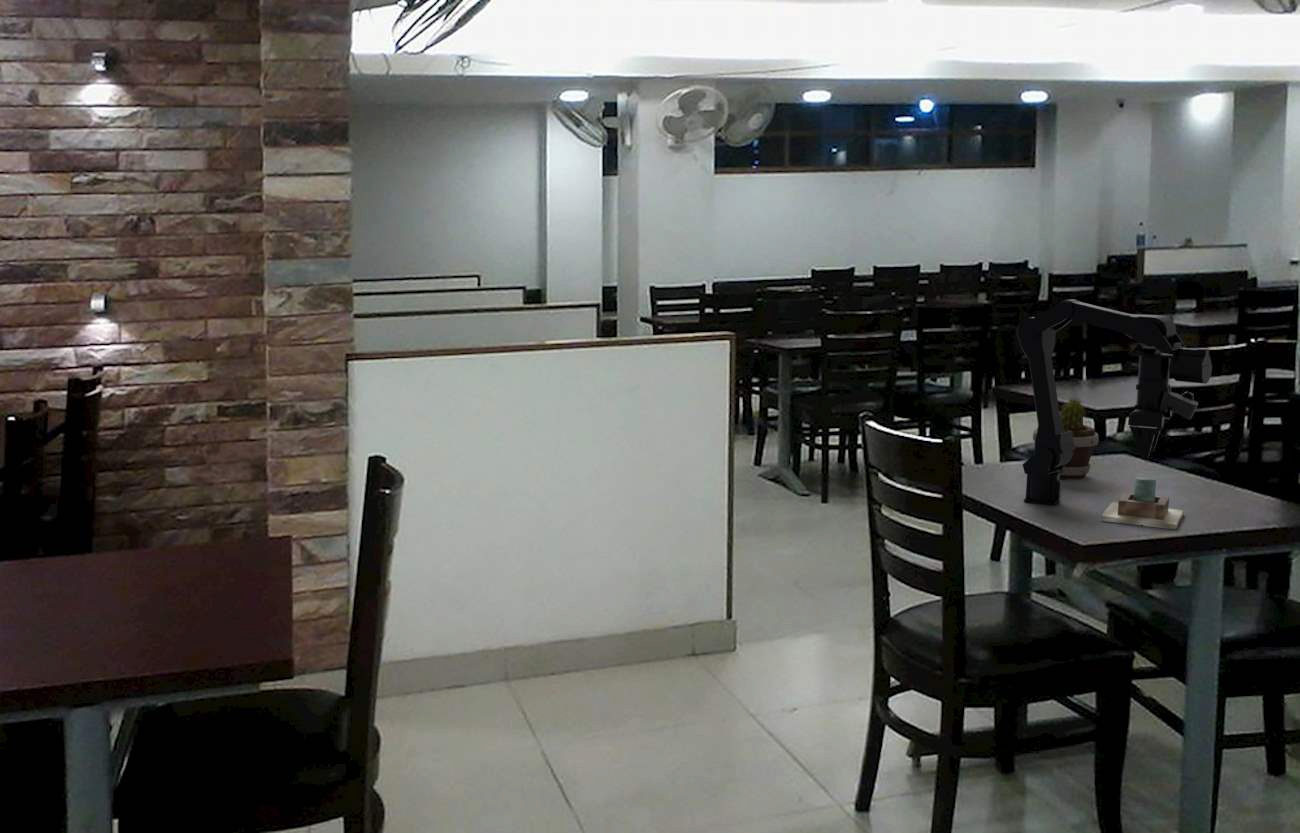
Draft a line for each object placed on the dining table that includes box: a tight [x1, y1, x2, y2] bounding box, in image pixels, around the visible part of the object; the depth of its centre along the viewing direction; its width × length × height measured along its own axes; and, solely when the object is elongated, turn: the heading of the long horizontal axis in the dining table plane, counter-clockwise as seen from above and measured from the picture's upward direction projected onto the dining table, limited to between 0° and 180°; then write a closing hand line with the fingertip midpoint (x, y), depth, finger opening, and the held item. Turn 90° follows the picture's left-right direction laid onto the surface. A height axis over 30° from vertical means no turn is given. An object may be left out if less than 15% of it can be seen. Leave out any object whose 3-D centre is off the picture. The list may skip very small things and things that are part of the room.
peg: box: [1133, 476, 1157, 503], centre depth 260 cm, size 4×4×7 cm
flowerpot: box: [1032, 394, 1100, 481], centre depth 300 cm, size 14×15×20 cm
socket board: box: [1100, 491, 1185, 530], centre depth 261 cm, size 14×14×4 cm
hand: (1147, 455), depth 259 cm, fingers open, 9 cm apart
